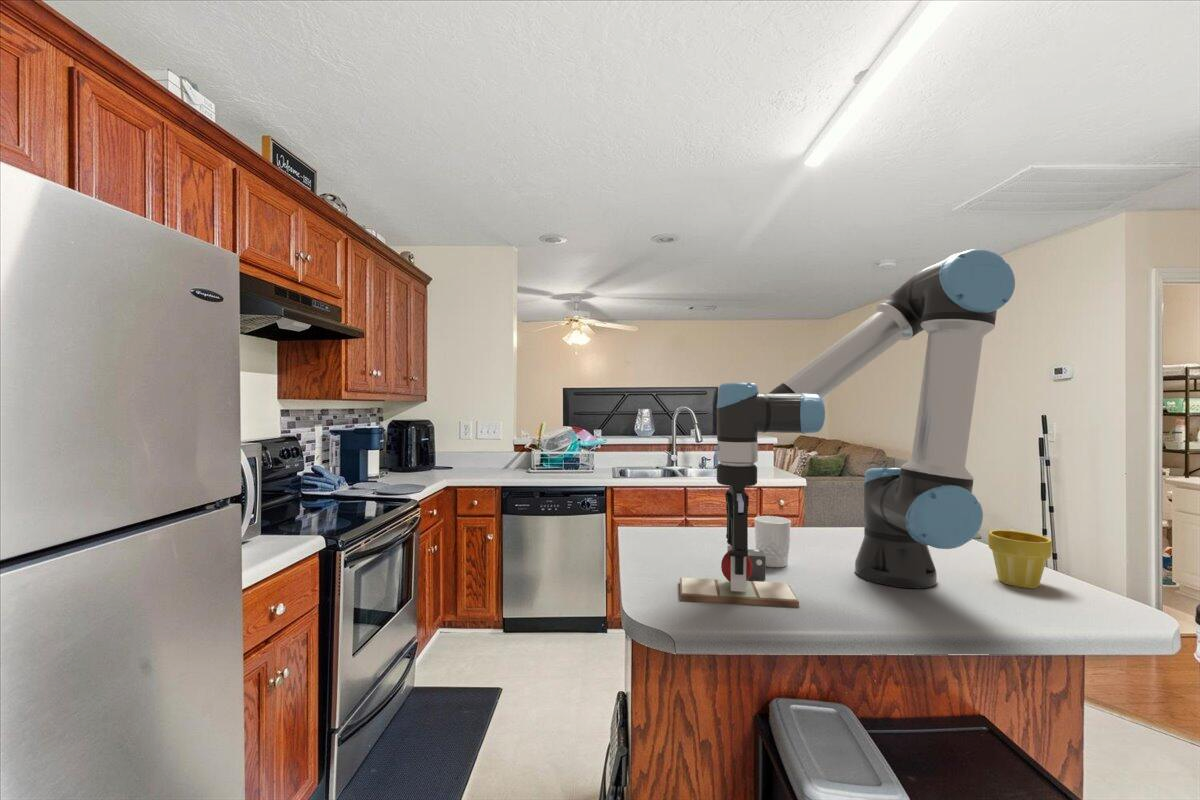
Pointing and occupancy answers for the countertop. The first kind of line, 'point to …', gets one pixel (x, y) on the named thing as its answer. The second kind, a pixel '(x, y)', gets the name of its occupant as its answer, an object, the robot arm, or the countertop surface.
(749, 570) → the onion
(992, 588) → the countertop surface
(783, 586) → the board
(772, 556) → the white cup
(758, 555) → the die
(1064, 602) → the countertop surface
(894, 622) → the countertop surface
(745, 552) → the robot arm
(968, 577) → the countertop surface
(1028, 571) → the plant pot
